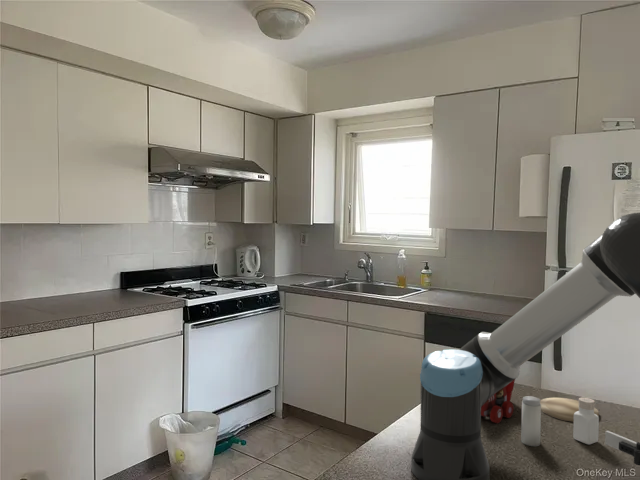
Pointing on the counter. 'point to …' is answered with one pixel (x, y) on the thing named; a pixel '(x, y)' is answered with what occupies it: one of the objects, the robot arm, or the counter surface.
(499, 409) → the toy fire truck
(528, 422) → the salt shaker
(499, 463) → the counter surface
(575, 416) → the pepper shaker
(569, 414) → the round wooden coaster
